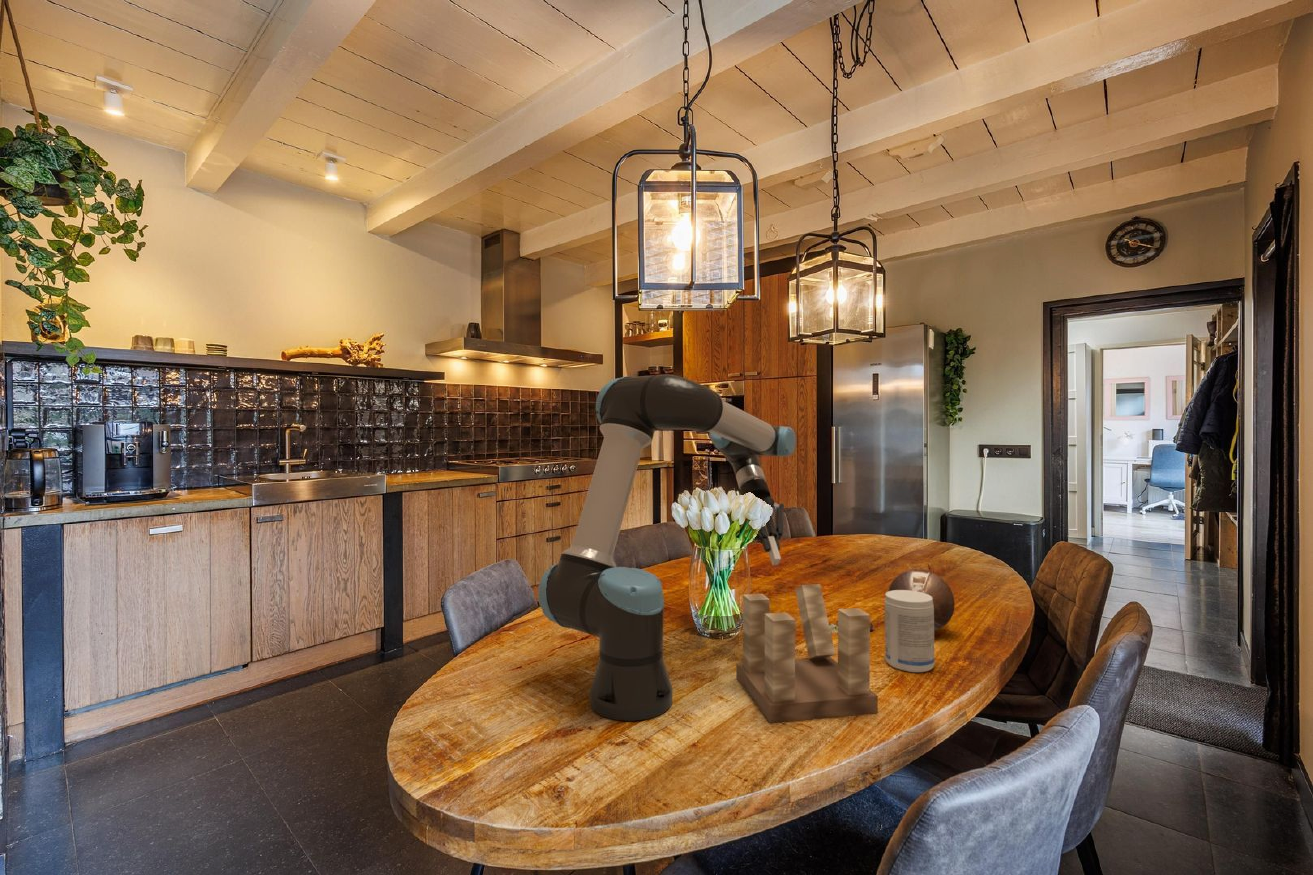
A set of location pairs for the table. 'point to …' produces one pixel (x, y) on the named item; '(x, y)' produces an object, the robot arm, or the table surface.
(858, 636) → the stool seat
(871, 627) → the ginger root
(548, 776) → the table surface
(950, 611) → the brown metallic ball
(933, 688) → the table surface
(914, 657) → the supplement tub
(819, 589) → the hinged leg
